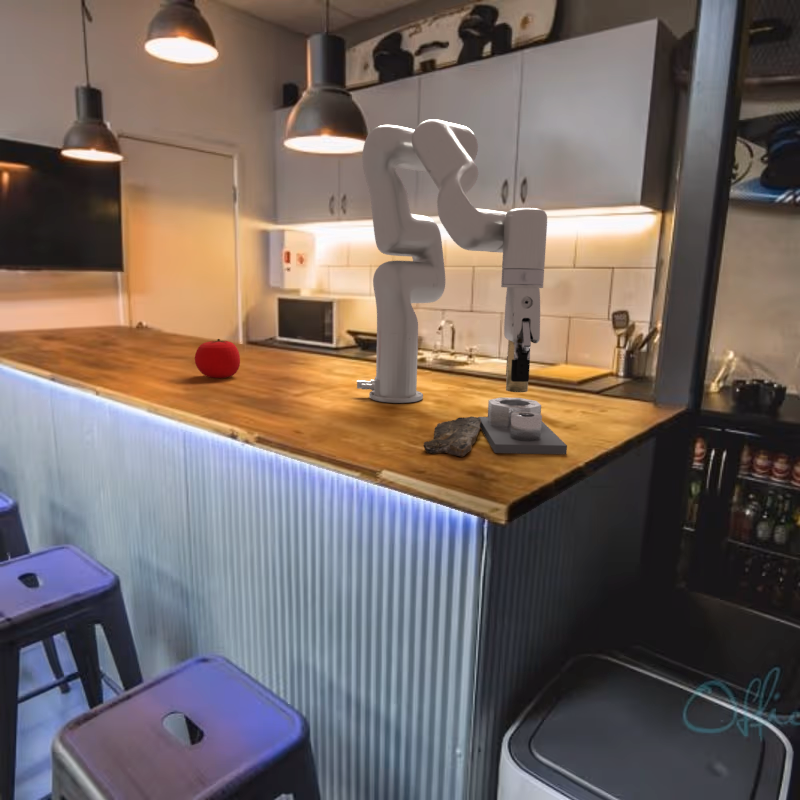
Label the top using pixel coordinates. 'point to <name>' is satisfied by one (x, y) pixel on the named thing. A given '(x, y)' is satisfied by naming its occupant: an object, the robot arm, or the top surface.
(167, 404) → the top surface
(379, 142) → the robot arm
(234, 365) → the tomato
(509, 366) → the brass nipple
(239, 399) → the top surface
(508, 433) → the fitting board
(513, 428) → the sockets
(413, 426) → the top surface
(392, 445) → the top surface
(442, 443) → the rock
